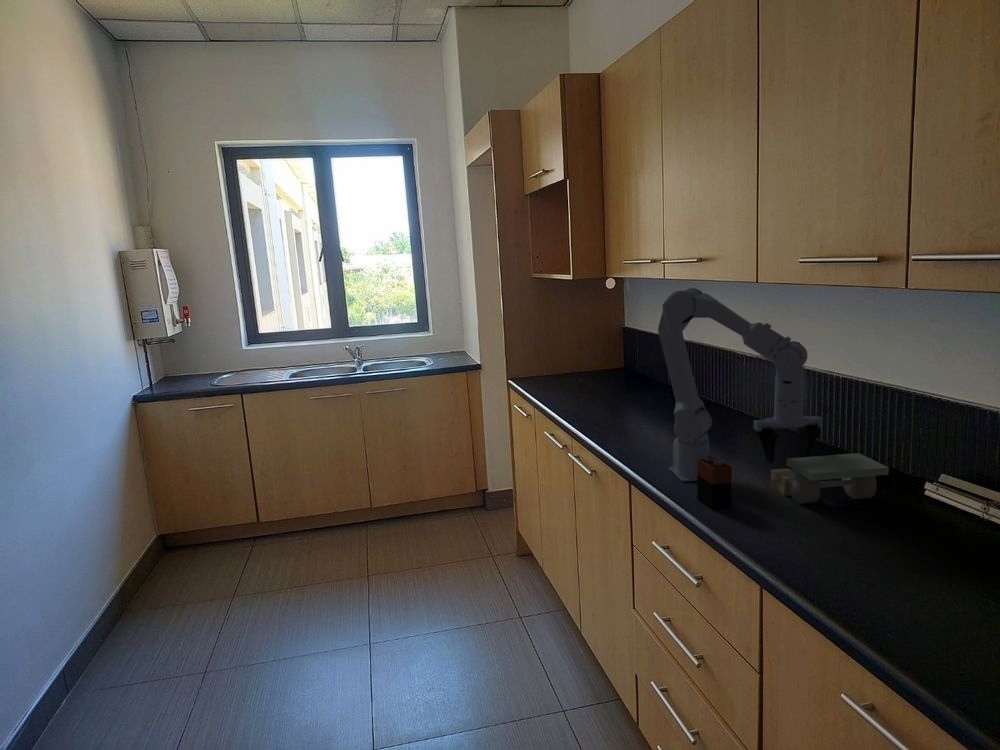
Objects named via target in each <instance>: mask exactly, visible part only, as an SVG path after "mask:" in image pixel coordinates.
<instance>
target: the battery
mask: <svg viewBox="0 0 1000 750" xmlns="http://www.w3.org/2000/svg"><path fill="white" fill-rule="evenodd" d="M732 469H733V467H732V465H730V464H728V463H726V462H724V459H719V458H716V457H715V456H713V455H710V454H709V455H708V456H706V458H705V459H698V473H697V481H696V482H697V485H696V486H697V487H696V488H697V491H696V493H697V494H696V497H697V499H698V500H699V501H700V502H702V503H703V504H704V503H705V505H706V506H707V507H709V508H710V509H712V510H713V509H716V510H721V509H722V508H723V509H728V508H729V507H730V508H732V481H733V480H732V479H733V477H732V476H733V475H732V474H733V473H732V471H733V470H732Z"/></svg>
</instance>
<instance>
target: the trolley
mask: <svg viewBox="0 0 1000 750" xmlns="http://www.w3.org/2000/svg"><path fill="white" fill-rule="evenodd" d="M785 463H786V464H785V465H786V466H787V467H789V469H790V470H792V471H791V472H790V474H789V477H788V487H789V491H790V494H791V498H792V499H793V501H794V502H795V503H797V504H800V505H801V504H803V505H804V504H814V503H817V502H818V501H819V499H820V496H821V488H834V487H835V488H836V487H843V489H844V492H845V493H846V494H847V496H848V497H849V496H850V497H852V498H853V500H863V499H871V498H873V497H874V496H875V494H876V493H877V486H878V485H877V484H878V483H877V479H876V477H877V476H888V475H889V473H890V472H889V471H890V467H889V466H887V465H885V464H882V463H880V462H878V461H876V460H874V459H872V458H870V457H869V456H866V455H863V454H862V453H859V452H857V453H856V452H855V453H844V454H831V455H829V454H828V455H815V456H808V457H802V458H800V457H792V458H791V457H790V458H786V462H785ZM825 480H826V481H825ZM828 480H829V481H828ZM850 497H849V498H850ZM852 498H851V499H852Z"/></svg>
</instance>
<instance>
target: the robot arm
mask: <svg viewBox="0 0 1000 750" xmlns="http://www.w3.org/2000/svg"><path fill="white" fill-rule="evenodd" d="M661 307H662V313H661V316H660V318H659V320H660V321H659V323H658V328H657V332H658V336H659V340H660V344H661V348H662V352H663V356H664V360H665V363H666V368H667V372H668V376H669V380H670V384H671V388H672V392H673V397H674V399H675V406H674V411H673V415H674V424H673V431H674V434H675V436H676V438H675V439H674V441H673V443H672V466H669V467H668V469H669V471H671V472H672V473H673V474H674V475H675V476H676V477H677V478H678V479H679V480H680V481H681V482H682V483H683V482H697V473H698V459H705V458H706V456H708V455H710V436H709V435H708V431H709V430H711V427H712V426H713V425H712V424H713V420H712V418H713V417H712V416H711V414H710V412H708V410H707V409H706V406H705V403H704V401H703V400H702V399H701V397H700V396H699V394H698V390H697V385H696V382H695V381H696V380H695V377H694V374H693V369H692V365H691V361H690V357H689V353H688V349H687V345H686V341H685V337H684V335H683V333H684V330H685V329H686V327H687V326H688V325H689V323H690V322H691V320H694V318H695V319H697V318H698V319H699V318H700V319H707V318H708V319H711V320H713V321H715V322H717V323H718V324H720V325H722V326H724V327H725V328H727V329H729V330H731V331H732V332H734V333H736V334H738V335H740V336H741V338H742V341H743V344H744V346H746V347H747V348H748V349H751V350H752V351H754V352H756V353H757V354H758V355H760V356H761V357H763V358H765V359H767V360H768V361H772V364H773V366H774V368H775V370H776V372H775V381H774V401H773V402H774V403H773V404H774V405H773V406H774V407H773V408H774V409H773V416H772V417H767V418H763V419H756V420H755V419H754V420H753V430H755V433H757V436H758V438H759V440H760V442H761V445H762V448H763V451H764V456H765V461H767V462H768V463H770V464H773V463H774V462H775V447H776V443H777V438H778V436H779V435H778V434H776V433H775V431H774V430H781V429H793V428H794V429H796V428H797V431H798V440H799V443H798V444H799V446H798V451H799V452H798V455H799V457H798V458H802V457H810V453H811V450H812V448H813V445H814V444H815V442H816V440H817V439H818V438H819V436H820V435H821V427H823V426H824V425H823V423H824V417H821V416H818V415H804V404H805V402H804V401H805V380H806V379H805V374H806V373H805V372H806V371H805V366H804V365H805V364H806V363H807V361H808V356H809V355H808V350H807V349H806V348H805V347H804V346H803V345H802V344H801V342H800V341H796V340H795V341H792V338H790V337H789V336H786V337H784V336H783V335H782V334H780V333H778V332H777V331H775V330H774V329H772V325H771V324H770V323H768V322H766V323H764V324H763V323H762V322H755V323H752V322H749V321H748V320H747V319H745V318H743V316H740V315H739V314H737V313H736V312H735V311H734V310H732V309H730V308H729V307H728V306H726V305H724V304H723V303H721V302H720V301H718V300H717V299H716V298H714V297H713V296H711V295H710V294H708V293H705V292H704V293H703V292H702V291H701V290H699V289H698V288H695V287H689V288H687V289H684V290H677V291H674V292H672V293H671V294H670V295H669V296H667V299H665V301H664V303H662V306H661Z"/></svg>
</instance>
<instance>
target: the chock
mask: <svg viewBox="0 0 1000 750" xmlns="http://www.w3.org/2000/svg"><path fill="white" fill-rule="evenodd" d="M792 470H793V469H791V468H778V469H777V468H776V469H770V487H771V488H772V489H774V490H775V491H776V490H777V491H776V492H778V493H779V494H780V495H782V496H784V497H790V496H791V494H790V491H789V487H788V477H789V474H790V472H791V471H792ZM791 497H792V496H791Z"/></svg>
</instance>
